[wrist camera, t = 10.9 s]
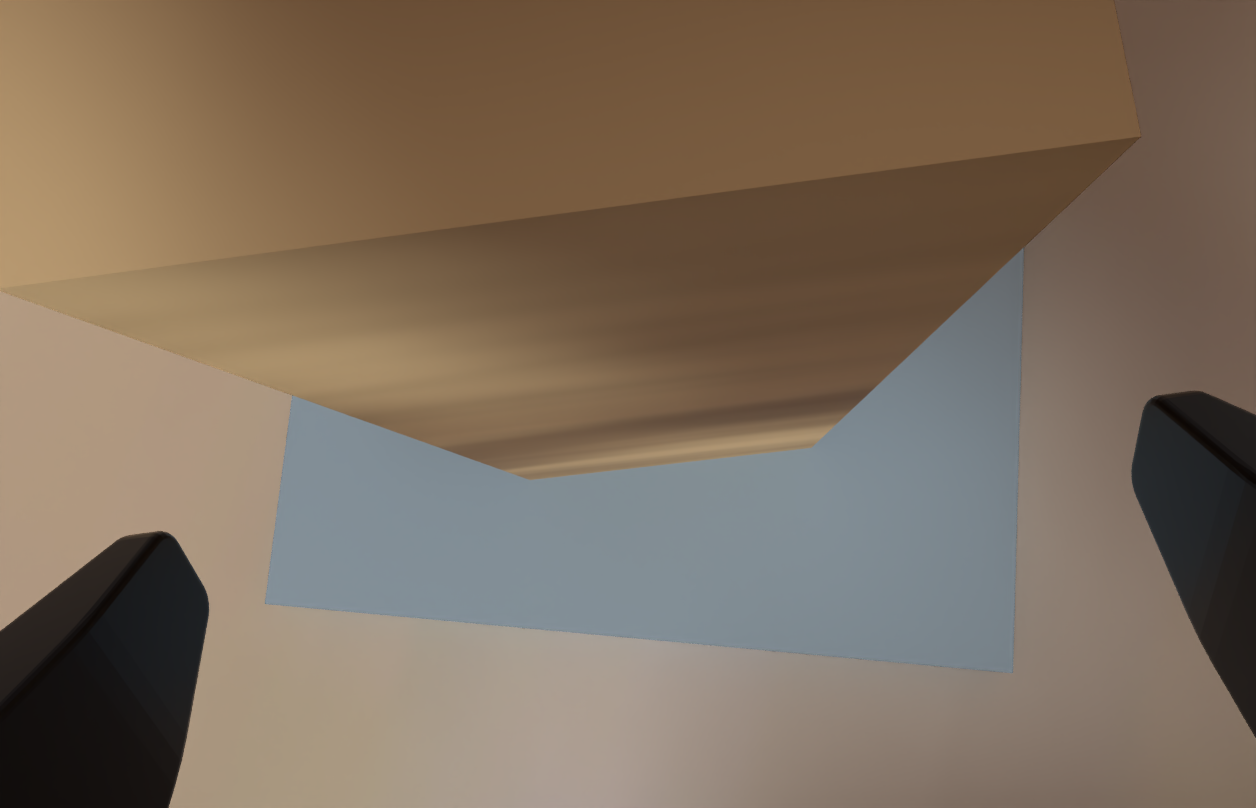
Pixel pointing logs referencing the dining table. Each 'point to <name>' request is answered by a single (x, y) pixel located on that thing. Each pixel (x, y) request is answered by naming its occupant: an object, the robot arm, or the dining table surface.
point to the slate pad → (698, 523)
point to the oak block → (547, 199)
